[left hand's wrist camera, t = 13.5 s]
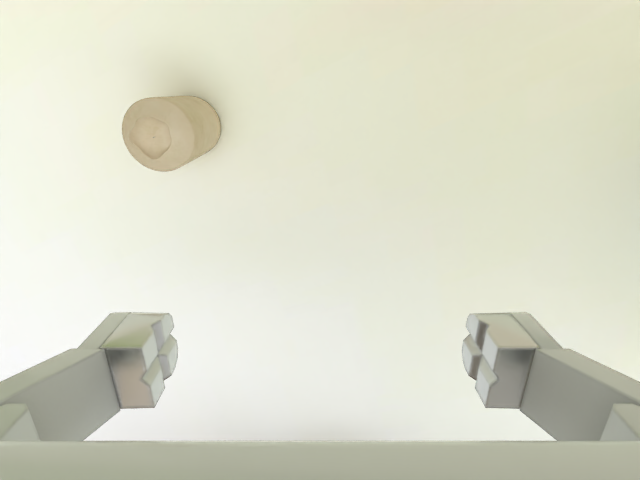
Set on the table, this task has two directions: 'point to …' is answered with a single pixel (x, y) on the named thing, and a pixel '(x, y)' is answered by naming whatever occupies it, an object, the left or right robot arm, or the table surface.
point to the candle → (170, 131)
